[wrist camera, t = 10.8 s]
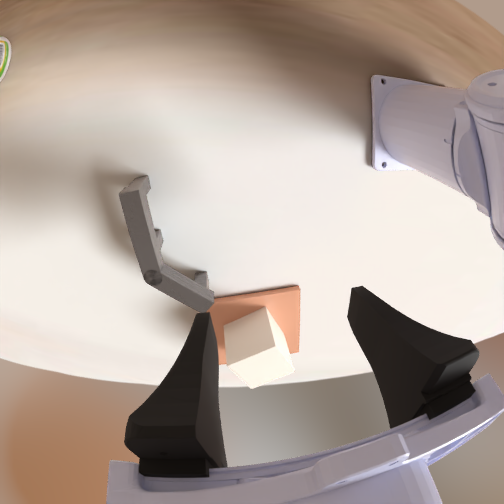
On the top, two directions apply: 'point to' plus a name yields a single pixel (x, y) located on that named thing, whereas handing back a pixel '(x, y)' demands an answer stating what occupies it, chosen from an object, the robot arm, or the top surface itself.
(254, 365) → the cream block
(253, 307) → the terracotta tile
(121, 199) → the bent rail
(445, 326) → the top surface
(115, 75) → the top surface
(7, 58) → the supplement bottle
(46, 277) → the top surface
